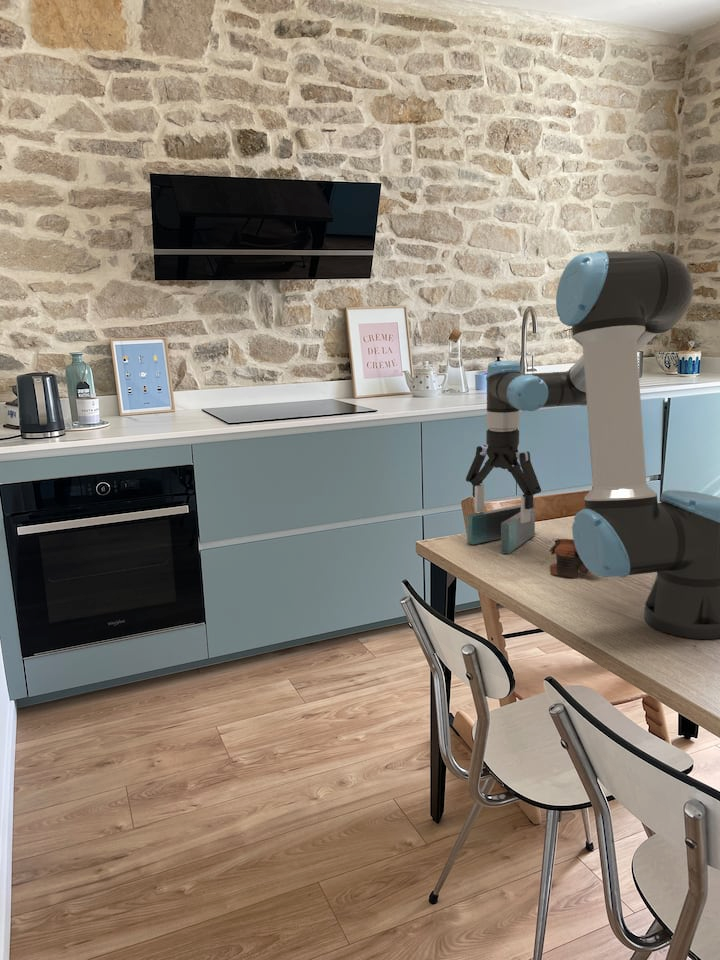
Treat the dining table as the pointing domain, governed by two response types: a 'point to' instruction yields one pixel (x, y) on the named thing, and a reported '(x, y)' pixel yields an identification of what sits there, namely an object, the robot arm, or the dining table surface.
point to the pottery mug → (567, 559)
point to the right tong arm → (516, 532)
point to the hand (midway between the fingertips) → (501, 516)
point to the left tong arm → (488, 524)
